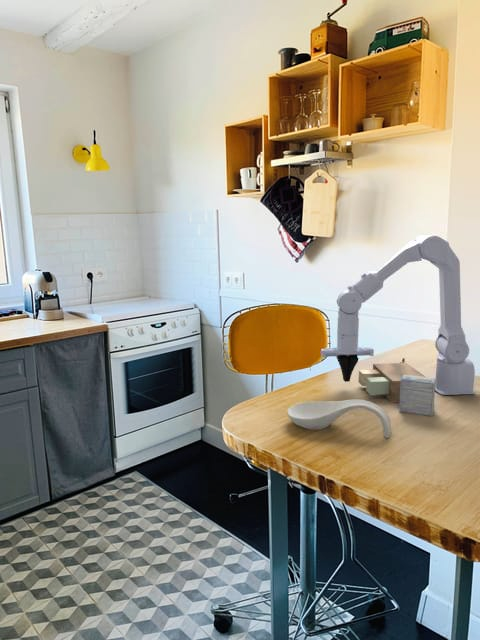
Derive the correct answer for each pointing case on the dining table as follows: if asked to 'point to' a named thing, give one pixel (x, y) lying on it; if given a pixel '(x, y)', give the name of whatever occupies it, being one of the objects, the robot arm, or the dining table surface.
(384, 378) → the sage bar
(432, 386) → the medicine box
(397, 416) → the dining table surface
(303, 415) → the spoon rest
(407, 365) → the walnut block
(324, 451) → the dining table surface
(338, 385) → the dining table surface
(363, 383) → the beech bar
